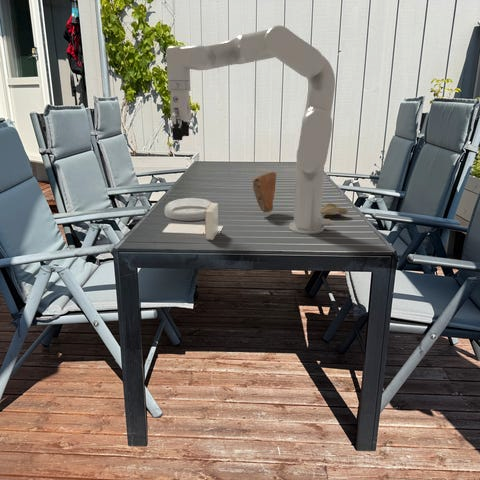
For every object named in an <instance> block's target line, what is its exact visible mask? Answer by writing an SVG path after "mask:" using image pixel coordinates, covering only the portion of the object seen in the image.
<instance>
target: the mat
mask: <svg viewBox="0 0 480 480" xmlns="http://www.w3.org/2000/svg"><path fill="white" fill-rule="evenodd" d="M223 229H224V225H218V233H219V234H220V233H221V232H220V231H222V230H223ZM162 233H173V234H174V233H175V234H177V233H178V234H197V235H198V234H199V235H200V234H201V235H202V234H203V233H204V235H205V224H189V223H188V224H185V223H168V225H167V226H166V227H165V228H164V229H163V230H162Z"/></svg>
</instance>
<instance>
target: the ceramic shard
mask: <svg viewBox="0 0 480 480" xmlns="http://www.w3.org/2000/svg"><path fill="white" fill-rule="evenodd" d="M276 181H277V172H274V171H271V172H266V173H263V174H260V175H258V176H257V177H255V179H253V182H252V189H253V192H254V197H255V198H256V203H257V204H258V207H259V209H260V210H261V212H263V213H270V212H272V211H273V210H274V205H273V203H274V199H275V193H276Z"/></svg>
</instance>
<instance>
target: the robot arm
mask: <svg viewBox="0 0 480 480" xmlns="http://www.w3.org/2000/svg"><path fill="white" fill-rule="evenodd" d="M165 50H166V51H165V55H166V77H167V91H168V92H170V98H169V99H170V102H169V103H170V104H169V105H170V119H171V128H172V129H171V130H172V140H173V141H183V137H189V136H190V123H189V121H190V120H191V118H192V112H191V111H192V110H191V109H192V108H191V97H190V91H191V70H193V71H194V70H195V71H208V70H214V69H218V68H223V67H228V66H233V65H244V64H249V63H254V62H258V61H265V60H269V59H274V58H276V59H277V60H279V61H280V62H282V64H284V65H286V66H287V67H288V68H290V69H291V70H293V71H294V72H296V73H297V74H299V75H300V76H302V77H304V78H306V79H307V82H308V84H307V85H308V87H307V96H306V97H307V98H306V101H305V102H306V104H305V109H304V114H303V116H302V120H301V129H300V136H299V141H298V147H297V150H296V168H295V187H294V206H293V207H294V208H293V221H291V222H290V223H289V224H288V228H289V230H290V231H291V232H294V233H296V234H304V235H305V234H306V235H310V234H311V235H314V234H320V233H322V232H324V231H325V226H328V227H334V224H335V222H334V220H330V218H323V217H322V214H321V211H322V203H323V190H324V189H323V188H324V176H325V165H326V163H327V158H328V154H329V147H330V144H331V136H332V130H333V118H332V109H333V103H334V99H335V98H334V96H335V89H336V77H335V73H334V69H333V67H332V65H331V63H330V62H329V60H328V59H327V58H326V56H324V55H323V54H322V53H321V52H320V51H319V49H316V48H315V47H314V46H313V45H311V44H310V43H308V42H307V41H305V40H304V39H302V38H301V37H299V36H298V35H296V33H294V32H293V31H291V30H290V29H289V28H287V27H286V26H285V25H280V24H278V25H274V26H272V27H271V28H269V29H264V30H260V31H255V32H254V31H253V32H249V33H245V34H241V35H237V36H235V37H233V38H232V39H229V40H227V41H224V42H219V43H215V44H210V45H201V44H200V45H199V44H198V45H197V44H196V45H191V46H184V45H183V46H182V45H181V46H180V45H175V46H174V45H171V46H167V48H166V49H165Z"/></svg>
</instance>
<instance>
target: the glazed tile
mask: <svg viewBox="0 0 480 480" xmlns="http://www.w3.org/2000/svg"><path fill="white" fill-rule="evenodd" d="M204 225H205V234H204V235H205V238H204V239H205V240H212V241H213V240H214V239H215V237H216V235H218V234H217V232H218V226H219V203H217V202H212V203H210V205H209V206H208V208H207V209H206V211H205V219H204Z"/></svg>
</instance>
